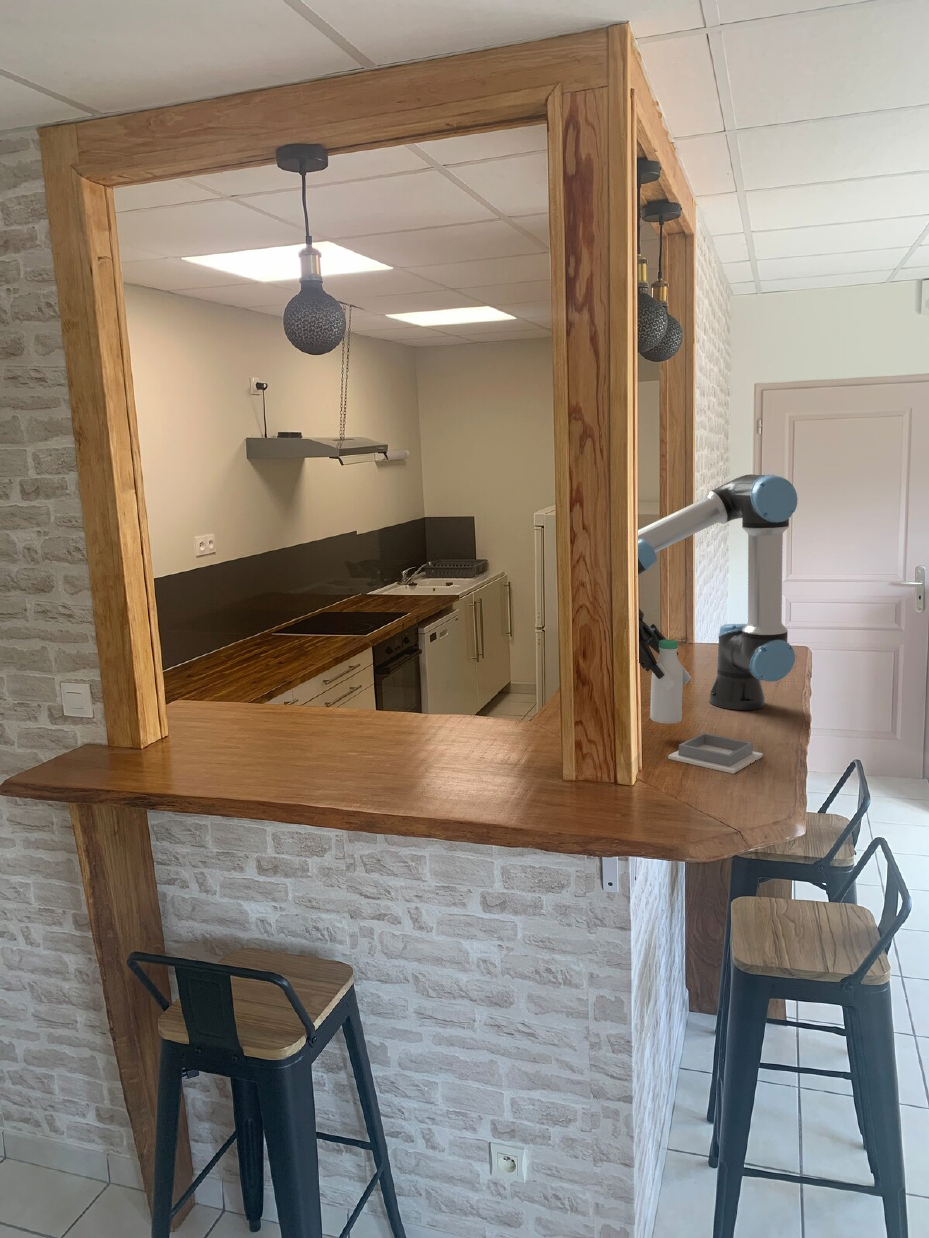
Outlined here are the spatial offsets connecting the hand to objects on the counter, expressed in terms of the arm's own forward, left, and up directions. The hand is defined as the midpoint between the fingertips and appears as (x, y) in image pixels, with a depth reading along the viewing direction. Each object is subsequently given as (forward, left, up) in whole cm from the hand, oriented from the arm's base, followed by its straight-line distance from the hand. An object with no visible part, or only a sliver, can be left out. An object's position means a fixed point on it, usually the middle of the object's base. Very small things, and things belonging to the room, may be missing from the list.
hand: (679, 684), depth 226 cm
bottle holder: (+6, +13, -14) cm, 20 cm away
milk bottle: (0, -3, -10) cm, 10 cm away
